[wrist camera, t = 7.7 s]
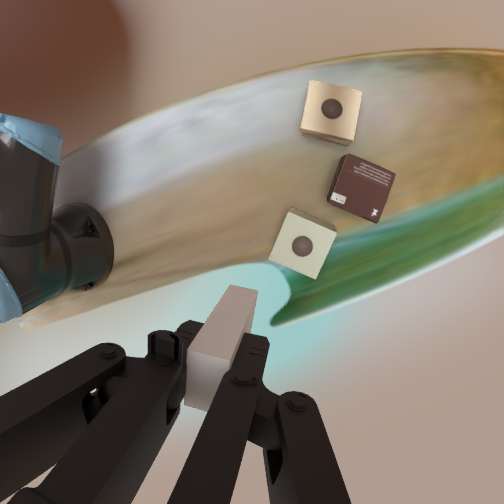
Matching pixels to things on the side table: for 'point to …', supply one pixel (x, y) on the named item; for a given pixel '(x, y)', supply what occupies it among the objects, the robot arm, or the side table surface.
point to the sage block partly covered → (303, 243)
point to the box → (360, 187)
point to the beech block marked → (331, 112)
